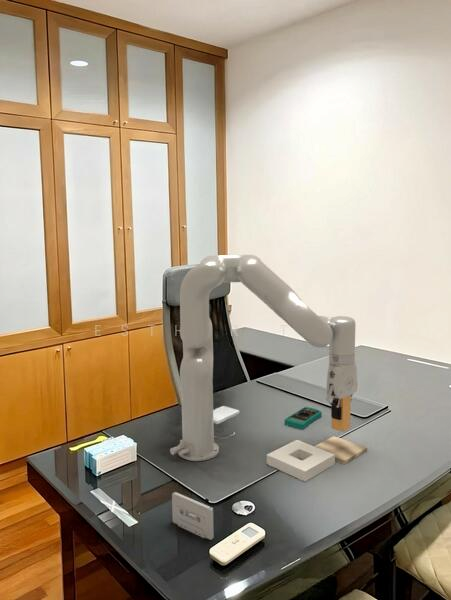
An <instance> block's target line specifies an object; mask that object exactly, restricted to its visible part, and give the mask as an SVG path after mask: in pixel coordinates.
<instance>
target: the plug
mask: <svg viewBox="0 0 451 600" xmlns="http://www.w3.org/2000/svg"><path fill="white" fill-rule="evenodd" d="M334 395H335V394H334ZM351 399H352V397H351V395H350V396H347V397H345V398H343V399H341V403H340V407H341V420H337V419H334V418H332V417H331V429H332V430H336V431H339V432H342V433H343V432H346V431H347V430H349V429H350V428H351V410H352V409H351V402H352V400H351ZM335 400H336V402H337V399H335Z"/></svg>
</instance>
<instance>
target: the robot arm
mask: <svg viewBox="0 0 451 600" xmlns="http://www.w3.org/2000/svg"><path fill="white" fill-rule="evenodd" d="M222 283H242V285H244V287H246V288H247V289H248V290H249V291H250V292H251V293H253V295H255V296H256V297H257V298H258V299H259V300H261V301H262V303H264V304H265V306H267V307H268V308H269V309H271V311H273V313H274V314H276V315H277V316H278V317H279V318H280V319H282V321H284V322H285V323H286V324H287V325H288V326H289V327H291V328H292V330H293V331H295V332H296V333H297V334H298V335H299V336H300V337H302V338H303V339H304V341H306V342H307V343H308V344H309V345H311V346H312V347H314V348H319V349H320V348H325V347H327V346H328V363H329V364H328V368H327V377H326V398H325V400H326V402H328V403H329V405H330V406H331V410H330V411H331V414H330V415H331V416H330V417H331V419H332V418H334V419H337V420H341V407H340V403H341V399H343V398H345V397H347V396H350V395H351V401H352V397H353V395H354V394H355V393H356V392H357V391H358V370H357V363H356V361H355V359H356V357H355V356H356V321H355V319H354V318H353V317H350V316H343V315H341V316H324V315H317V314H316V312H315V311H313V309H311V308H310V307H309V306H308V305H307V304H306V303H305V302H304V301H303V300H302V299H301V298H300V297H299V295H298V294H297V292H296V291H295V290H294V289H292V287H291V286H290V285H289V284H288V283H286V282H285V281H284V280H283V279H282V278H281V277H280V276H278V274H276V273H275V272H274V271H273V270H271V268H270V267H268V266H267V265H266V264H265V263H264V262H263V261H262V260H261V258H260V257H259V256H256V255H253V254H235V255H233V254H230V255H229V254H228V255H227V254H224V255H223V254H221V255H220V254H218V255H217V254H216V255H214V254H213V255H209V256H206V257H204V258H203V259H202V260H201V261H200V263H198V264H197V265H195V266H194V267H193V268H191V269H190V270H189V271H188V272H187V273H186V275H185V276H184V277H183V280H182V282H181V285H180V289H179V290H180V291H179V302H180V303H179V317H180V318H179V320H180V326H179V336H180V339H181V340H182V353H183V354H182V355H183V356H182V359H181V362H180V367H179V381H180V392H181V393H180V394H181V396H180V397H181V430H182V431H181V432H182V439H180V440H179V443H178V445H176V446H174V447H171V448H170V449H169V452H170V453H169V454H170V455H172V456H174V455H176V454H178V456H179V457H181V458H182V459H184V460H187V461H192V462H203V461H208V460H212V459H214V458H215V457H216V456H218V455H219V452H220V446H219V445H218V444H217V443H216V442H215V439H214V436H215V435H214V431H215V429H214V423H213V410H214V386H213V381H214V380H213V379H214V375H213V373H214V342H213V341H214V340H213V323H212V320H211V318H210V294H211V292H212V291H213V289H215V288H217V287H219V286H221V284H222ZM334 394H335V395H334ZM335 399H337V402H336V400H335Z"/></svg>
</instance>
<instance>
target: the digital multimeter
mask: <svg viewBox="0 0 451 600" xmlns="http://www.w3.org/2000/svg"><path fill="white" fill-rule="evenodd" d="M322 412H323V411H321V410H319V409H317V408H314V407H309V406H304V407H303V408H301V409H299V410H297V411H296V412H295V413H293V414H291V415H290V416H288V417H286V418H285V419H284V425H285V426H287V425H288V426H287V427H290V426H291V427H290V428H293V427H294V428H293V429H297V428H298V430H303V431H304V429H306V428H307V427H308V426H310V425H311V424H313V423H314V422H315V421H317V420H318V419H320V418H321V417H322V415H323V414H322ZM309 424H310V425H309Z"/></svg>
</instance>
